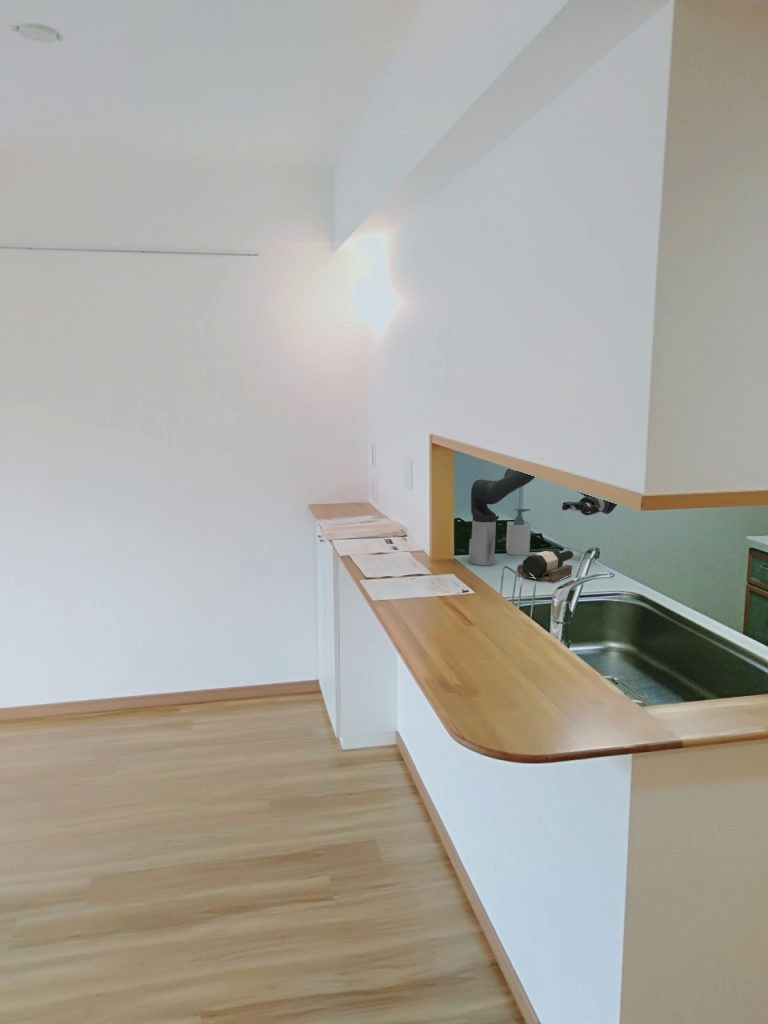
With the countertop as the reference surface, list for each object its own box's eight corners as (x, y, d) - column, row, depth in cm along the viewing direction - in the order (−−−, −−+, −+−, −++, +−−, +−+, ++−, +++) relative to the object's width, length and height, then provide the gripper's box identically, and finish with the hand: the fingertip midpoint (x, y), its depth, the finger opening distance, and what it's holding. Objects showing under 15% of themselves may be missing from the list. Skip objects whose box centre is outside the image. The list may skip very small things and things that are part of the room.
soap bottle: (529, 555, 330) (532, 510, 327) (508, 555, 330) (510, 510, 327) (526, 551, 338) (528, 507, 335) (505, 550, 338) (508, 506, 335)
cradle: (517, 575, 296) (517, 565, 295) (535, 569, 307) (536, 559, 306) (553, 582, 287) (554, 572, 286) (571, 575, 297) (571, 565, 297)
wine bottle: (536, 582, 289) (574, 568, 311) (545, 563, 286) (583, 550, 308) (518, 570, 293) (557, 557, 316) (527, 551, 290) (566, 539, 312)
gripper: (576, 494, 327) (557, 497, 315) (608, 498, 318) (590, 501, 306) (574, 512, 328) (556, 515, 316) (607, 516, 319) (589, 520, 307)
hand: (573, 508), depth 311 cm, fingers open, 8 cm apart
